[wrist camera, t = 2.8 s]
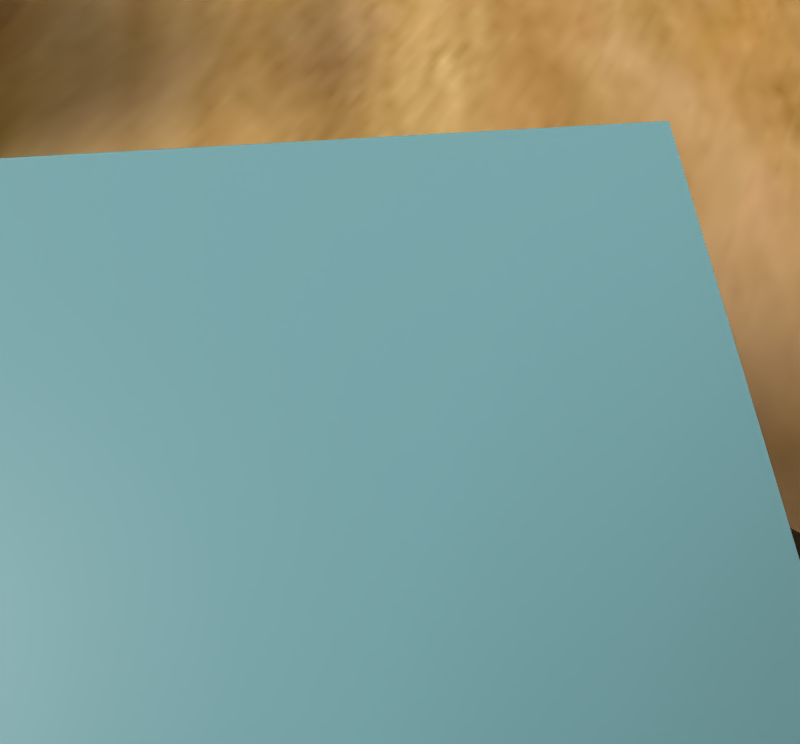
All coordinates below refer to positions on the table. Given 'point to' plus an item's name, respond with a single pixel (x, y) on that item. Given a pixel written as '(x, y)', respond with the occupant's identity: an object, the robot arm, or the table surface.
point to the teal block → (382, 451)
